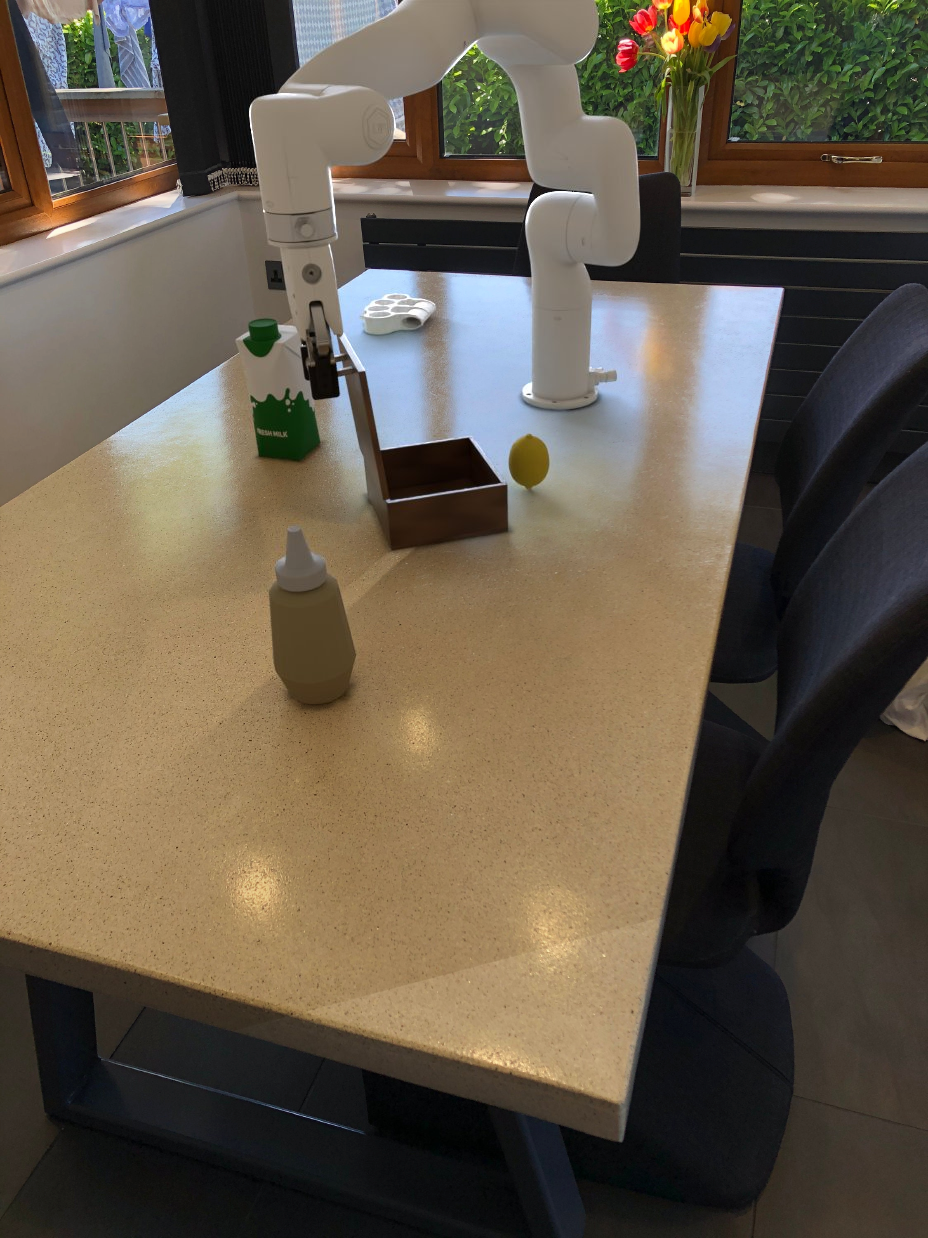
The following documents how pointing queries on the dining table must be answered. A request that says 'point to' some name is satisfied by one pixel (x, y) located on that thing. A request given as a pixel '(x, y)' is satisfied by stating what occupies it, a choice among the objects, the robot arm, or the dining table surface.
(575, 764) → the dining table surface
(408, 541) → the box
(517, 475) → the lemon
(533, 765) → the dining table surface
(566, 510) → the dining table surface
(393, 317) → the white multi-hole holder
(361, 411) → the lid
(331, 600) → the squeeze bottle
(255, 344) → the milk carton
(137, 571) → the dining table surface
